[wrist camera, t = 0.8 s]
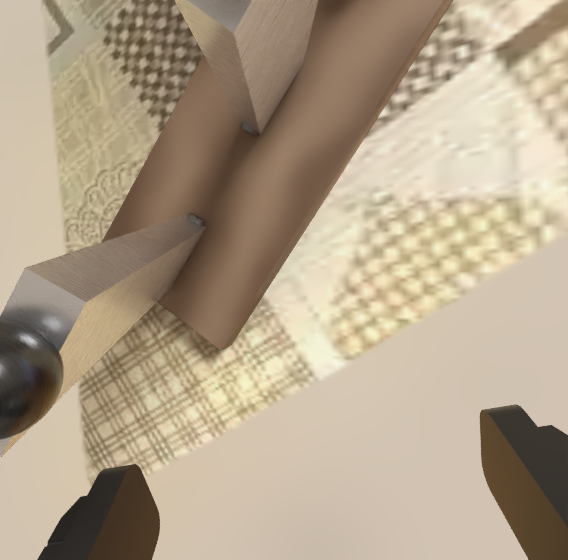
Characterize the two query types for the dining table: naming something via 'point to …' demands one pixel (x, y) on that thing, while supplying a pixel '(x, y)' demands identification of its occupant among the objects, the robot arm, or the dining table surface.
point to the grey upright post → (81, 314)
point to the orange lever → (252, 50)
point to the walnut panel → (270, 158)
